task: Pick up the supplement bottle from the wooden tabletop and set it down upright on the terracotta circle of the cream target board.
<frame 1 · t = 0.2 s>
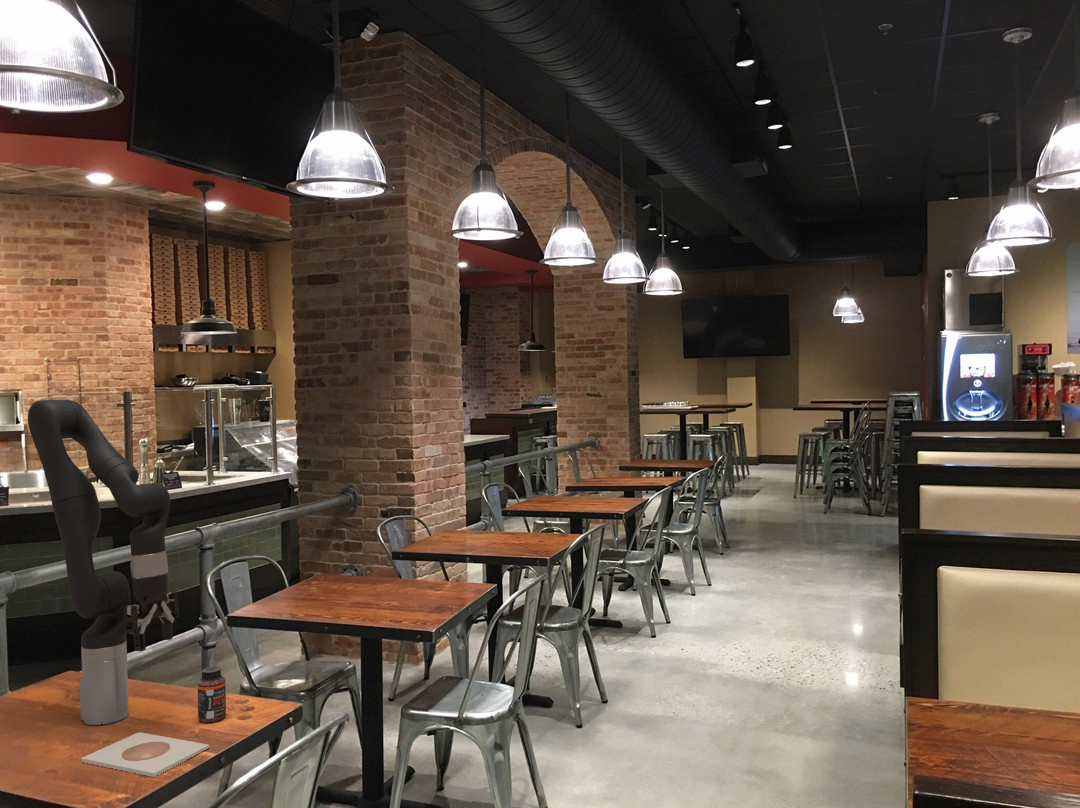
hand: (154, 645, 187), 18 cm above the table, tool pointing down, fingers open, 8 cm apart
supplement bottle: (212, 719, 190), on the table
target board: (146, 755, 171), on the table
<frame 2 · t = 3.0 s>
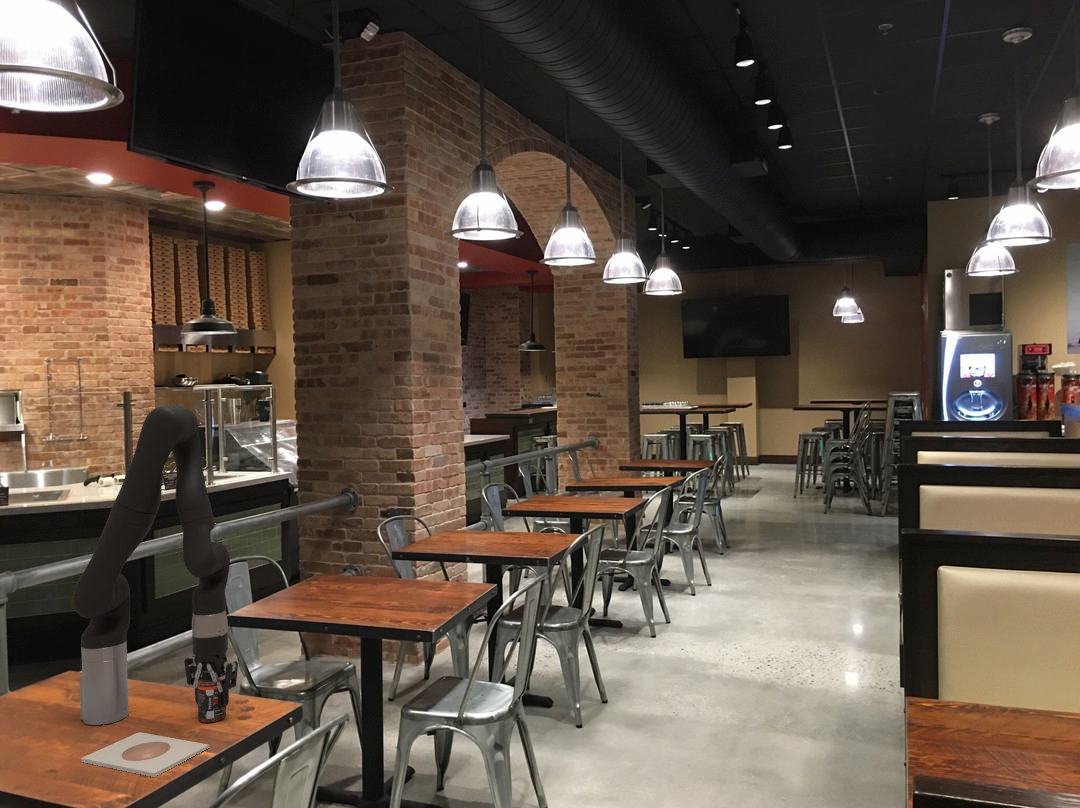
hand: (212, 704, 190), 3 cm above the table, tool pointing down, fingers closed on supplement bottle, 6 cm apart
supplement bottle: (212, 719, 190), on the table, touching gripper
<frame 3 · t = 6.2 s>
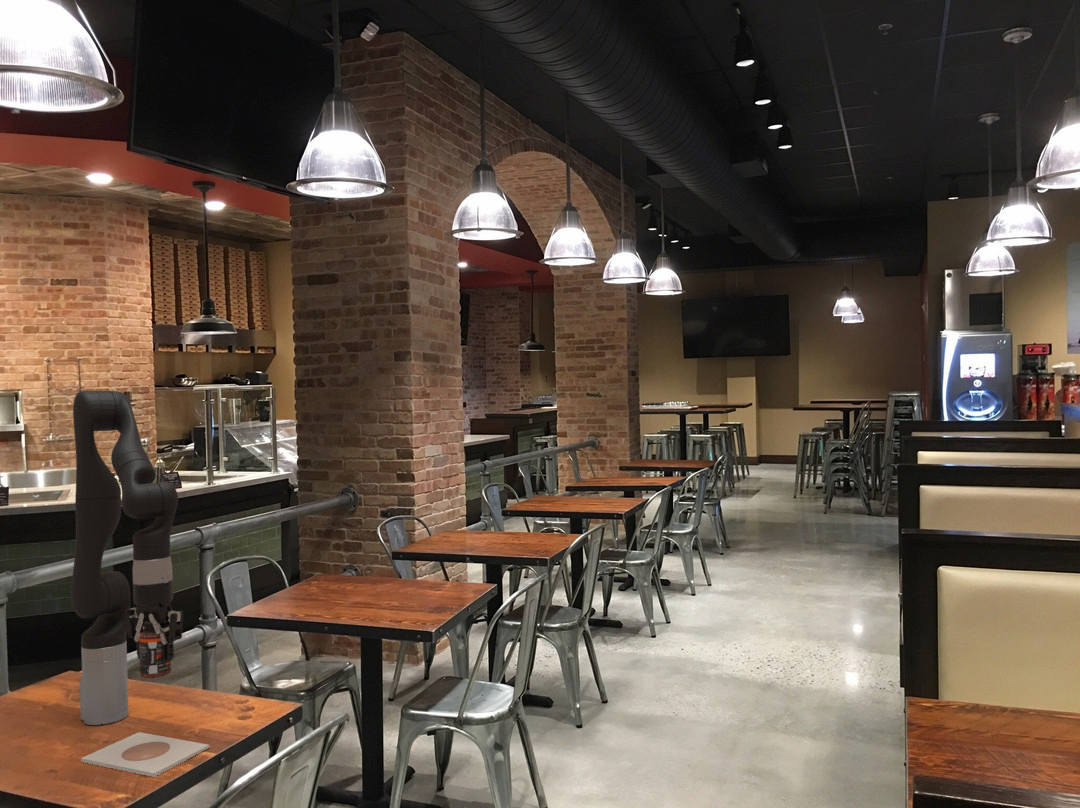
hand: (155, 659, 174), 19 cm above the table, tool pointing down, fingers closed on supplement bottle, 6 cm apart
supplement bottle: (156, 675, 174), point 15 cm above the table, touching gripper
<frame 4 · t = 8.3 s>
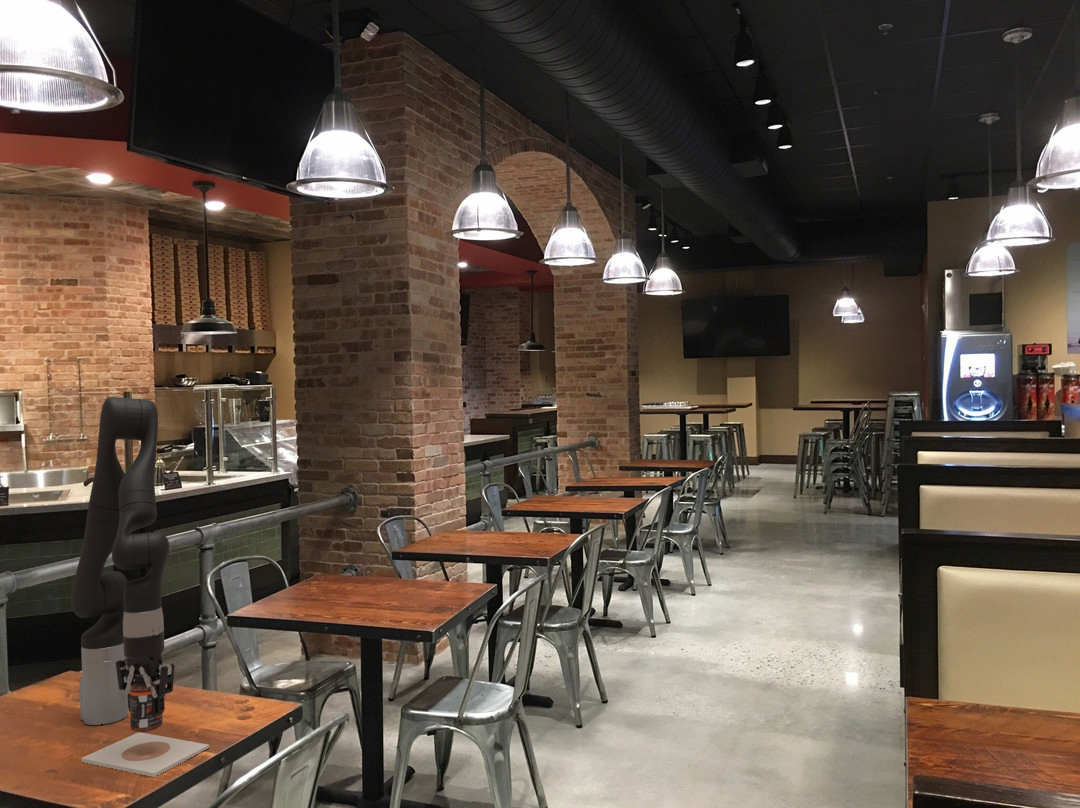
hand: (146, 712, 171), 9 cm above the table, tool pointing down, fingers closed on supplement bottle, 6 cm apart
supplement bottle: (146, 728, 171), point 5 cm above the table, touching gripper
when the fingers open (5 cm above the table, at t = 9.6 s): supplement bottle stays where it is, resting on target board.
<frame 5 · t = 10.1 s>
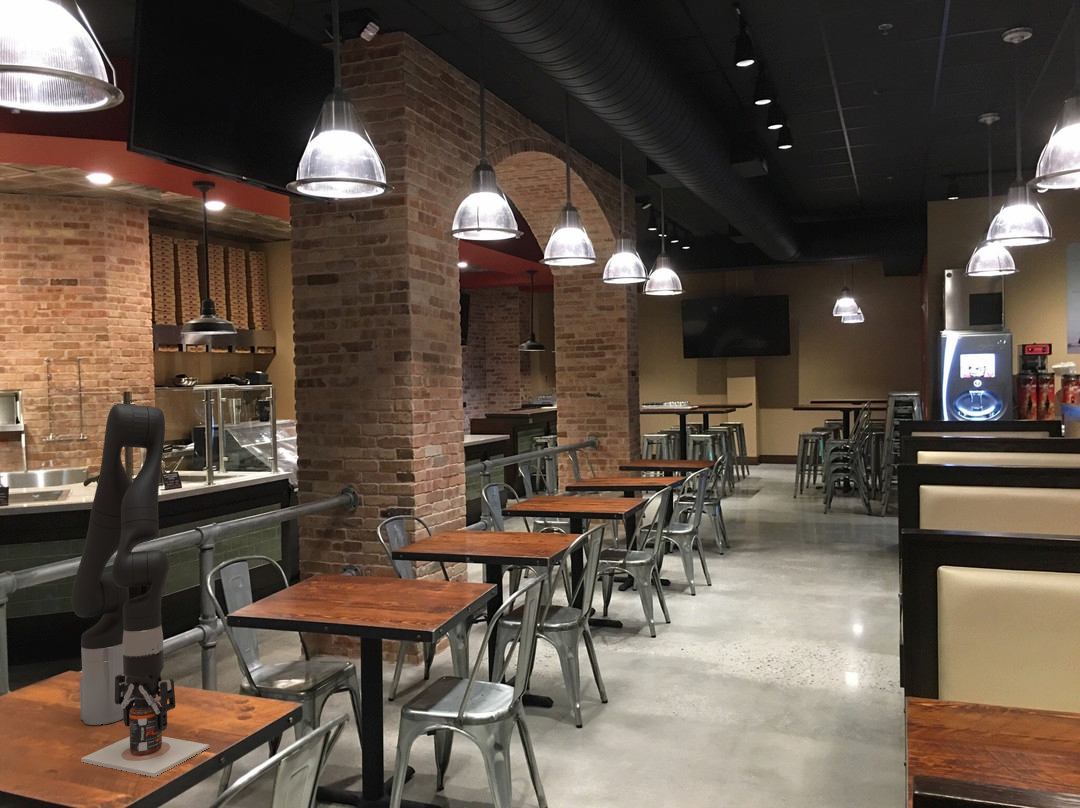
hand: (145, 728, 171), 6 cm above the table, tool pointing down, fingers open, 8 cm apart
supplement bottle: (146, 751, 171), point 1 cm above the table, touching target board
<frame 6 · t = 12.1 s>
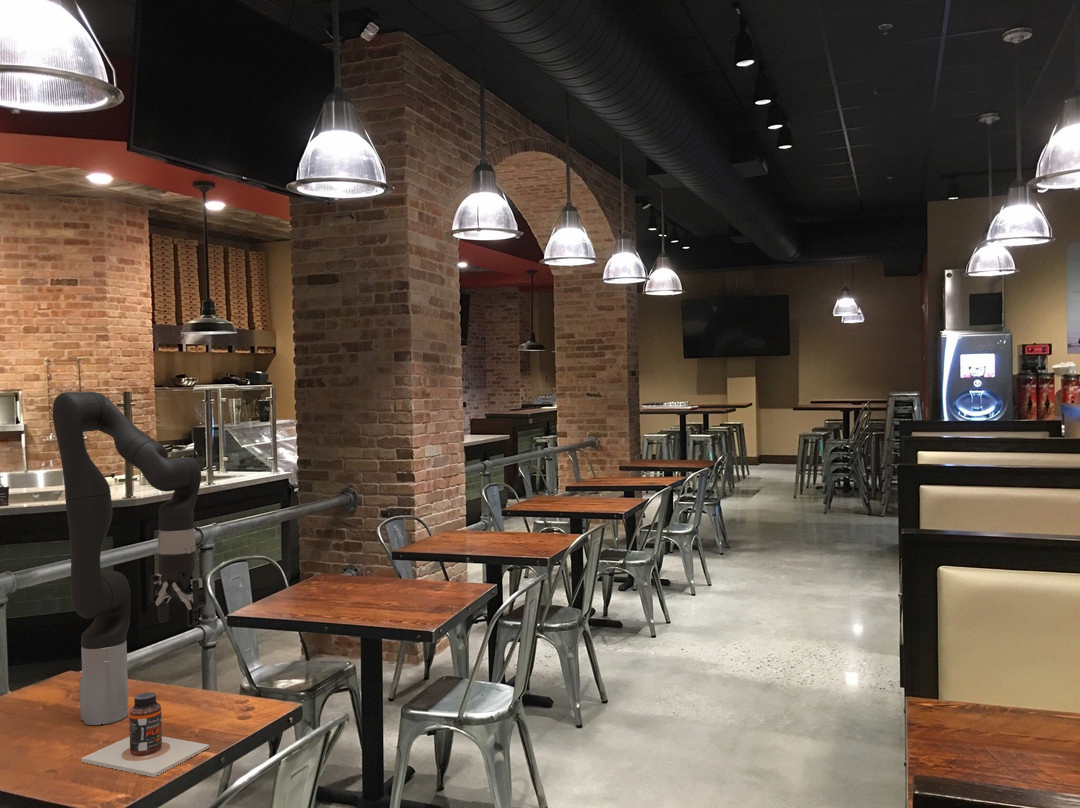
hand: (178, 624, 182), 24 cm above the table, tool pointing down, fingers open, 8 cm apart
nothing on the table moved.
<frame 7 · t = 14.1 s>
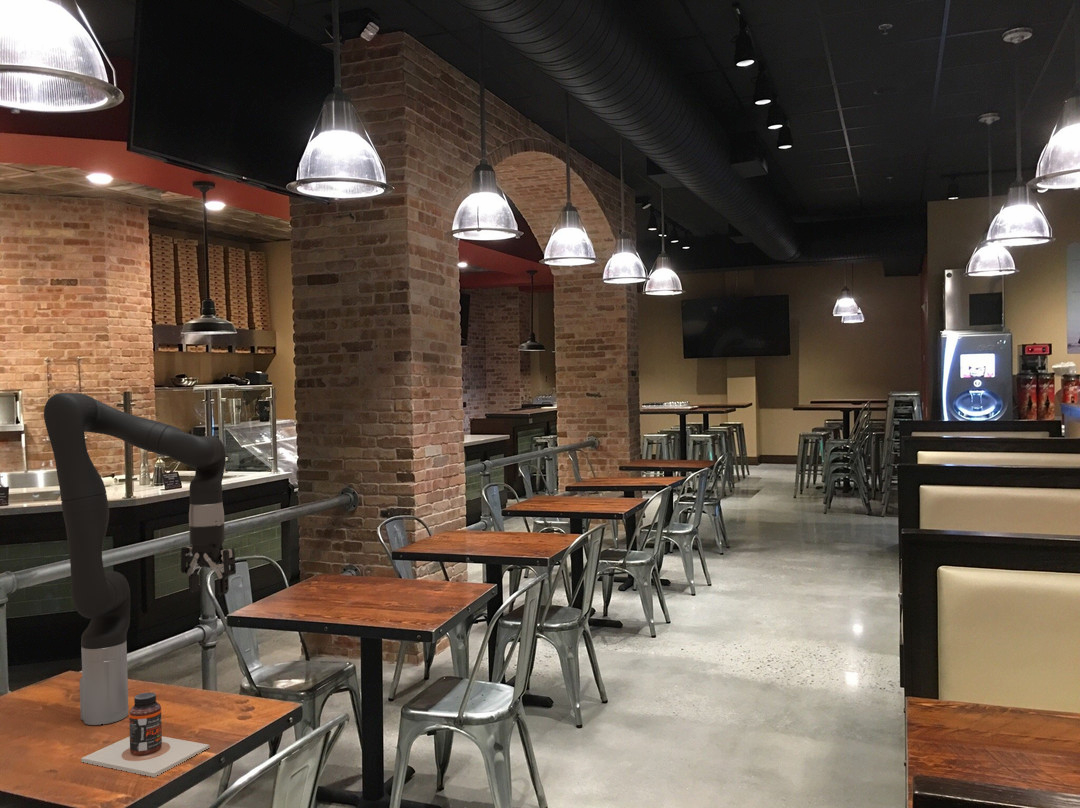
hand: (208, 592, 193), 28 cm above the table, tool pointing down, fingers open, 8 cm apart
nothing on the table moved.
at the end: supplement bottle inside the target area on the target board (0.1 cm from its centre), point 0.7 cm above the target board's base; supplement bottle tilted 0°; the gripper is holding nothing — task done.
